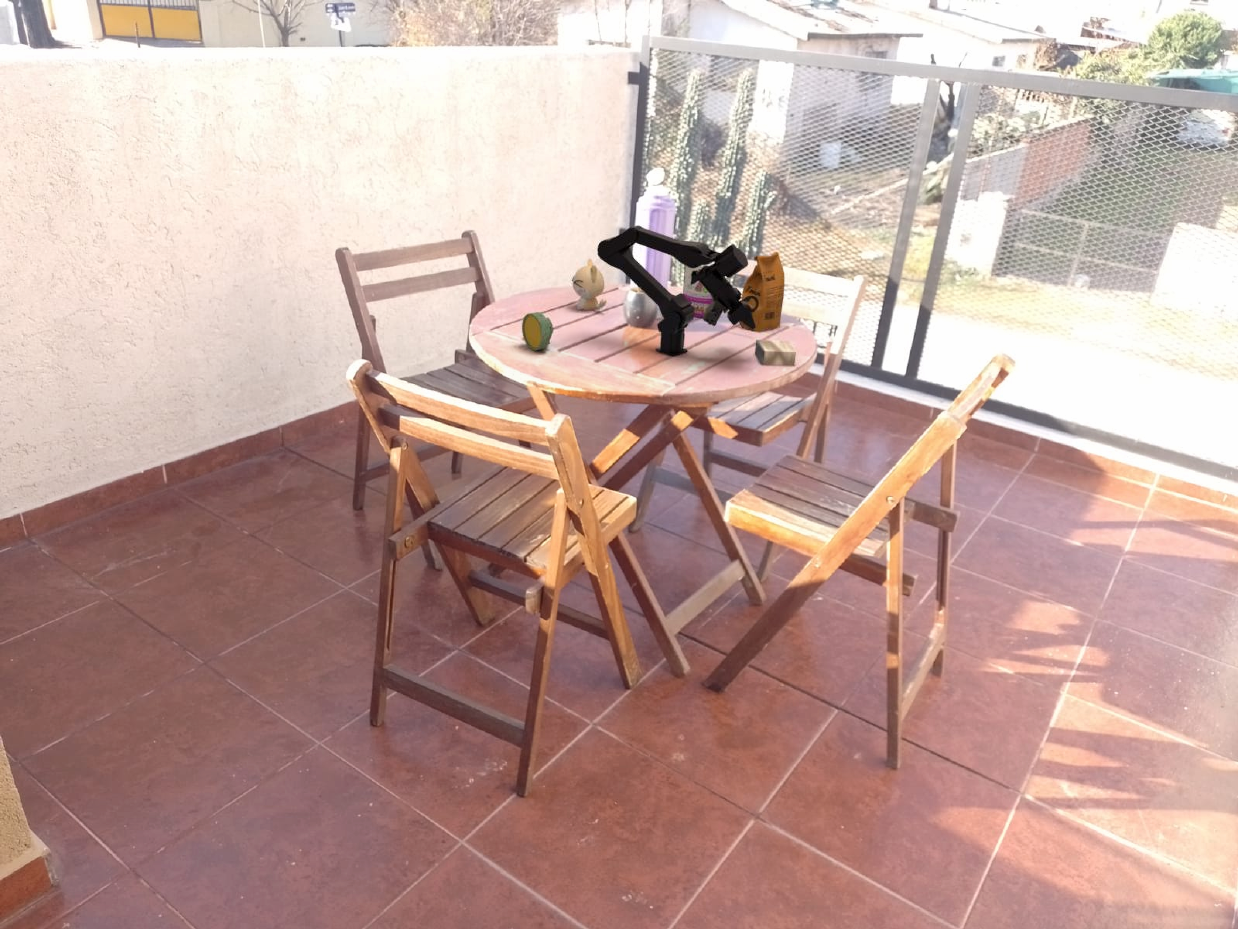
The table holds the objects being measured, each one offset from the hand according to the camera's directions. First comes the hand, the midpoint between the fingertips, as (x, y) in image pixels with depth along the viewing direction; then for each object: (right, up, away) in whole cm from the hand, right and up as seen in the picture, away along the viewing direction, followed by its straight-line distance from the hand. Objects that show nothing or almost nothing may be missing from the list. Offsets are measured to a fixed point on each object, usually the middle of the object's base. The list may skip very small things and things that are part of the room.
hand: (754, 328), depth 241 cm
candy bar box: (-11, +10, +41) cm, 44 cm away
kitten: (-46, +13, +44) cm, 65 cm away
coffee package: (+6, +5, +33) cm, 34 cm away
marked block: (+2, -6, +3) cm, 7 cm away
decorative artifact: (-57, -5, +6) cm, 58 cm away
